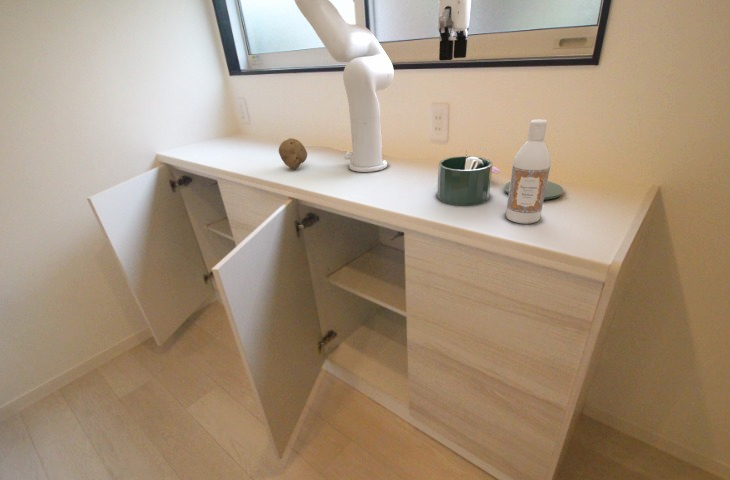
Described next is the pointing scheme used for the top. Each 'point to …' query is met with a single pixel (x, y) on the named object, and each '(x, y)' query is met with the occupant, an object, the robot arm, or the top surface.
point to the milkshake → (472, 163)
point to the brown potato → (292, 153)
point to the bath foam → (529, 177)
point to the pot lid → (550, 192)
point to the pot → (463, 182)
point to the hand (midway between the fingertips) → (452, 59)
